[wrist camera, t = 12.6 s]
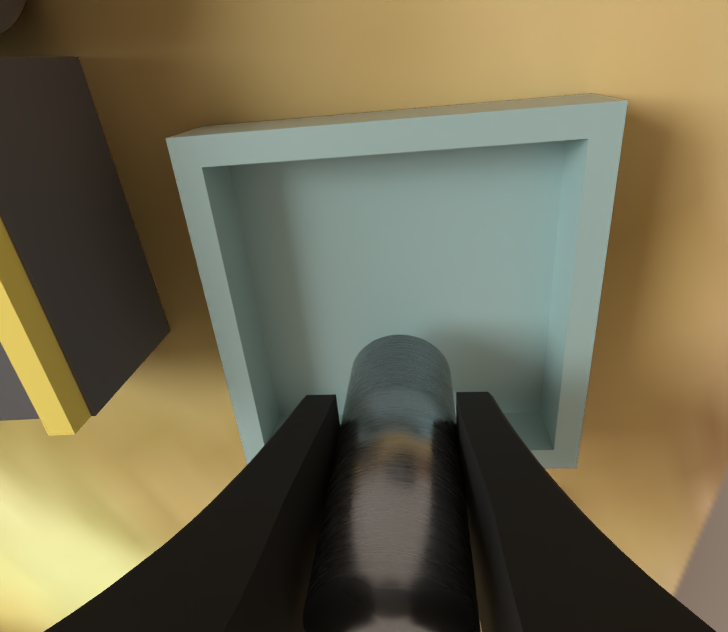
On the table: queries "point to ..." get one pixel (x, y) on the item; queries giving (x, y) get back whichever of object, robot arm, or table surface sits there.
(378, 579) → the pin
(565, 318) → the tray
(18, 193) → the chock
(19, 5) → the trolley
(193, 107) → the table surface
